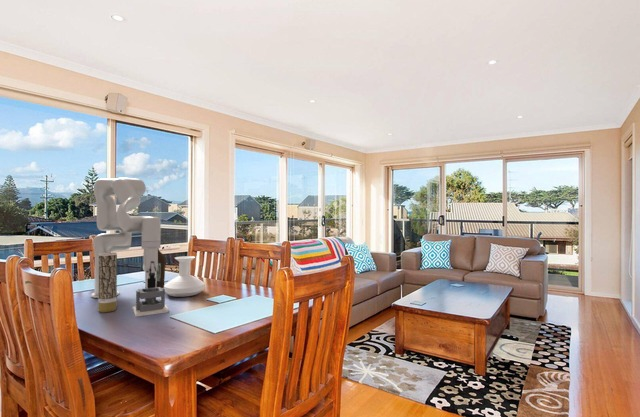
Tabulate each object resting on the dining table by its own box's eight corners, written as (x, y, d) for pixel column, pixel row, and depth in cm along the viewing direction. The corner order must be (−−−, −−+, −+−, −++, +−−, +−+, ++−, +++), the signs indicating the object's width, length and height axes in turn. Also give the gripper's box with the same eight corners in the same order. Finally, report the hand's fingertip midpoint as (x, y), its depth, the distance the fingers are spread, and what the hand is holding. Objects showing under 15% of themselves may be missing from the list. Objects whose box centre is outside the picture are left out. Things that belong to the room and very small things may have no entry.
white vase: (155, 295, 183) (155, 258, 183) (188, 288, 200) (188, 254, 200) (180, 301, 172) (180, 261, 172) (212, 293, 189) (213, 256, 189)
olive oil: (146, 286, 204) (147, 242, 204) (166, 285, 207) (167, 242, 207) (142, 290, 194) (143, 244, 194) (163, 289, 197) (163, 244, 197)
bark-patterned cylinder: (108, 313, 152) (108, 254, 152) (94, 312, 153) (94, 254, 153) (120, 309, 158) (120, 252, 158) (106, 308, 160) (107, 252, 160)
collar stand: (132, 309, 159) (132, 288, 159) (164, 304, 166) (164, 285, 166) (135, 316, 148) (135, 294, 148) (169, 311, 155) (169, 291, 155)
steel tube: (144, 302, 157) (144, 263, 157) (155, 300, 160) (155, 263, 160) (145, 304, 153) (145, 265, 153) (157, 303, 156) (157, 264, 156)
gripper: (139, 243, 162) (139, 283, 162) (143, 247, 147) (143, 291, 147) (157, 242, 166) (157, 282, 166) (163, 246, 151) (163, 289, 151)
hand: (150, 286), depth 157 cm, fingers closed on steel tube, 4 cm apart
